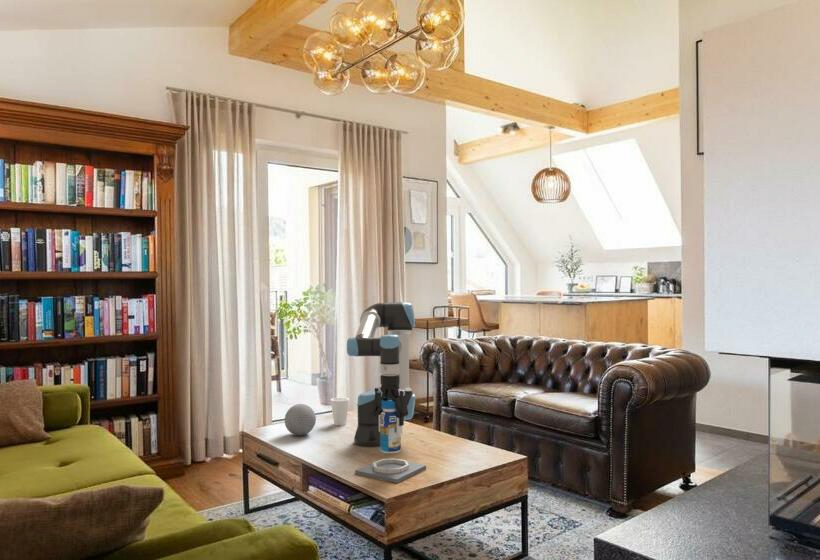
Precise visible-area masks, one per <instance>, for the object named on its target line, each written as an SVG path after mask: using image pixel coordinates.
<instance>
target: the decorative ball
mask: <svg viewBox="0 0 820 560" xmlns="http://www.w3.org/2000/svg"><path fill="white" fill-rule="evenodd" d="M316 421H317V417H316V413H315V411H314V409H313V407H310V405H307V404H304V403H297V404H294V405H292V406H291V407H290V408H289V409H288V410H287V411H286V413H285V416H284V425H285V427H286V429H287V431H288V432H289V433H291V434H292V435H294V436H305V435H308V434H309V433H310V432H311V431H312V430H313V429H314V427H315V426H316V423H317V422H316Z"/></svg>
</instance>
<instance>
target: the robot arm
mask: <svg viewBox="0 0 820 560" xmlns="http://www.w3.org/2000/svg"><path fill="white" fill-rule="evenodd" d="M415 327H416V318H415V312H414V307H413V304H412V303H410V302H402V301H401V302H400V301H399V302H378V303H374V304H372V305H370V306H368V307H366V309H364V311H363V312H362V313H361V314H360V317H359V326H358V329H357V331H356V334H355V336H354V337H349V338H348V339H347V341H346V353H347V355H348V356H349V357H379V358H380V359H379V360H380V361H379V363H380V364H379V365H380V367H379V368H380V372H379V373H380V376H379V377H380V378H379V379H380V381H379V382H380V383H379V384H380V385H381V386H380V387H379V386H378V387H375V388H374V390H369V391H364V392H362V393H359V395H358V396H357V404H356V406H357V427H356V431H355V434H354V437H353V440H354V441H353V442H354V445H356V446H361V447H380V421H381V419H380V415H381V412H382V411H383V409H382V400H384V401H385V400H387V399H389V398H390V399H392V401H395V408H396V411H397V414H398V417H397V435H399V434H401V435H402V434H403V426H404V424H405V421H406V420H407V421H410V420H411V419H413V417H414V412H415V406H416V394H415V393H413V389H412V388H411V387H410V334H411V333H412V332H413V328H415ZM378 328H386V329H387V332H388V334H382V335H380V337H375V335H376V331H377V329H378Z"/></svg>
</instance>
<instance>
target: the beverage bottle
mask: <svg viewBox="0 0 820 560" xmlns="http://www.w3.org/2000/svg"><path fill="white" fill-rule="evenodd" d="M382 409H383V411H382V412H381V415H380V419H381V421H380V445H379V447H380V448H379V449H380V450H379V451H380V452H381V453H383V454H396V453H400V452H401V450H402V434H399V435H397V417H398V414H397V411H396V408H395V401H392V399H390V398H389V399H387V400H385V401H384V400H382Z"/></svg>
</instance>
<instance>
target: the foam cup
mask: <svg viewBox="0 0 820 560" xmlns="http://www.w3.org/2000/svg"><path fill="white" fill-rule="evenodd" d="M349 404H350V398H349V397H343V396H342V397H333V398H331V399H330V406H331V411H332V419H333V425H334V424H335V426H337V425H342V426H345V424H346V425H347V422H348V421H347V420H348V411H349Z"/></svg>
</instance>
